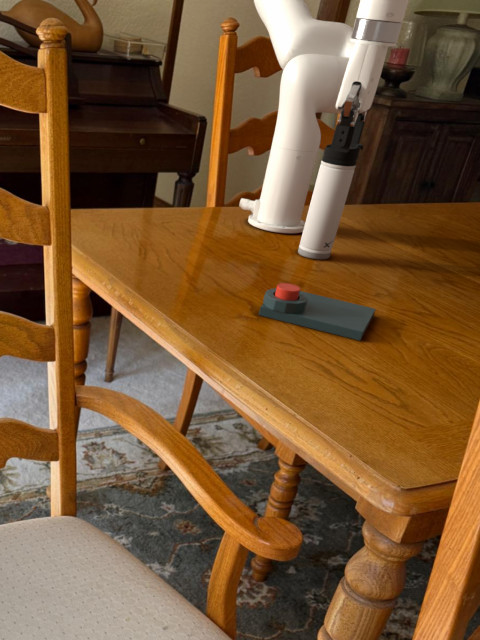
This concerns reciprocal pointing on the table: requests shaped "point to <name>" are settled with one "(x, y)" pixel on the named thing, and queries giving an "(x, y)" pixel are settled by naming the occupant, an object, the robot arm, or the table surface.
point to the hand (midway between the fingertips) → (344, 147)
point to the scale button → (287, 291)
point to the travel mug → (328, 202)
